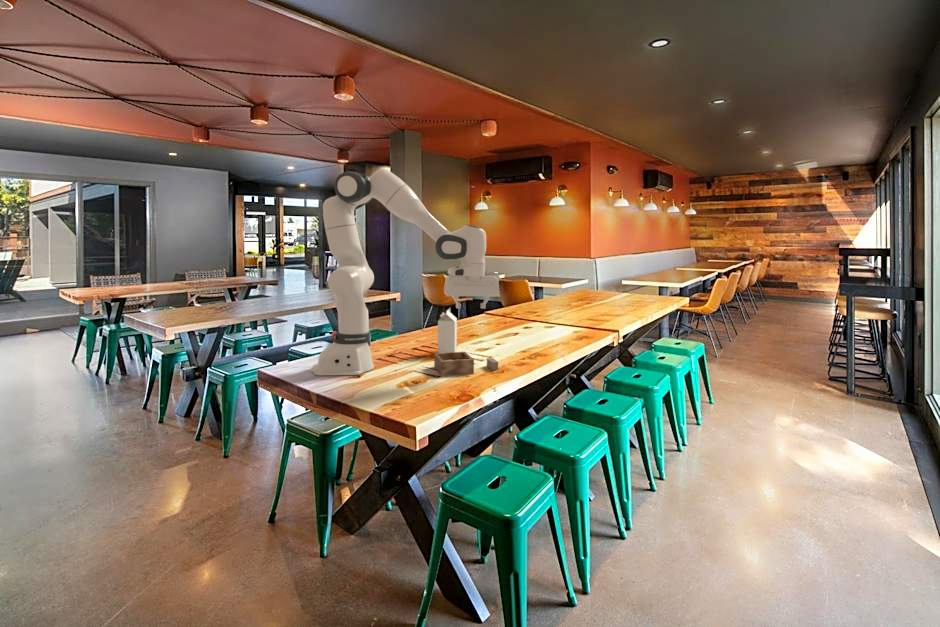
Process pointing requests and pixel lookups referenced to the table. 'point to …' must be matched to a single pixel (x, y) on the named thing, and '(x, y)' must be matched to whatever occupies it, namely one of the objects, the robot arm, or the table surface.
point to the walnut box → (453, 363)
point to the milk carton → (447, 333)
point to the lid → (492, 364)
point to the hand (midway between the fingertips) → (470, 308)
